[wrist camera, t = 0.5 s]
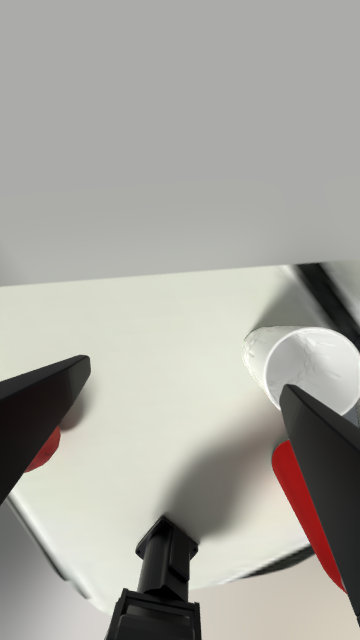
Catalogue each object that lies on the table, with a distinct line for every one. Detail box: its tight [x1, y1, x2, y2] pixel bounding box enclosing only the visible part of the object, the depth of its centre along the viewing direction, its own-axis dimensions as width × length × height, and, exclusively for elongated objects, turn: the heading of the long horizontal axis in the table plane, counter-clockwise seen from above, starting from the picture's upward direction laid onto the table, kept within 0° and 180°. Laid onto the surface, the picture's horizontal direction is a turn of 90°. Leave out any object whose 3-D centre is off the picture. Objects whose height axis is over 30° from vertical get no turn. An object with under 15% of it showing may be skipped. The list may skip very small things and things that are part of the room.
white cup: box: [241, 326, 360, 416], centre depth 21 cm, size 8×8×10 cm
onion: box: [24, 426, 61, 473], centre depth 24 cm, size 6×6×8 cm
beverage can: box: [272, 440, 348, 595], centre depth 20 cm, size 6×6×12 cm
